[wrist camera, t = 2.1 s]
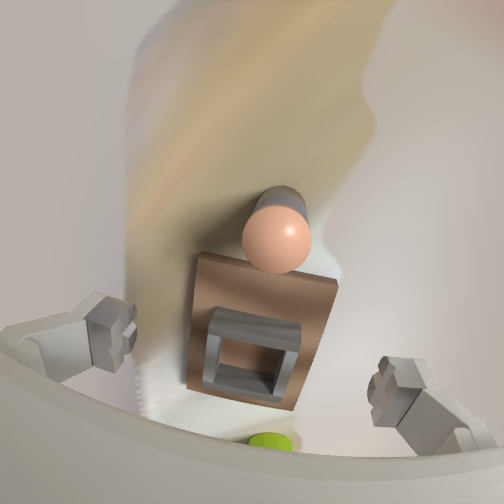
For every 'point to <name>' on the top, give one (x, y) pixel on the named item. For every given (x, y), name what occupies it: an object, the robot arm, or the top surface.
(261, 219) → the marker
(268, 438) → the soap dispenser
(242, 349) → the wooden socket board
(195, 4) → the top surface
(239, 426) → the top surface
